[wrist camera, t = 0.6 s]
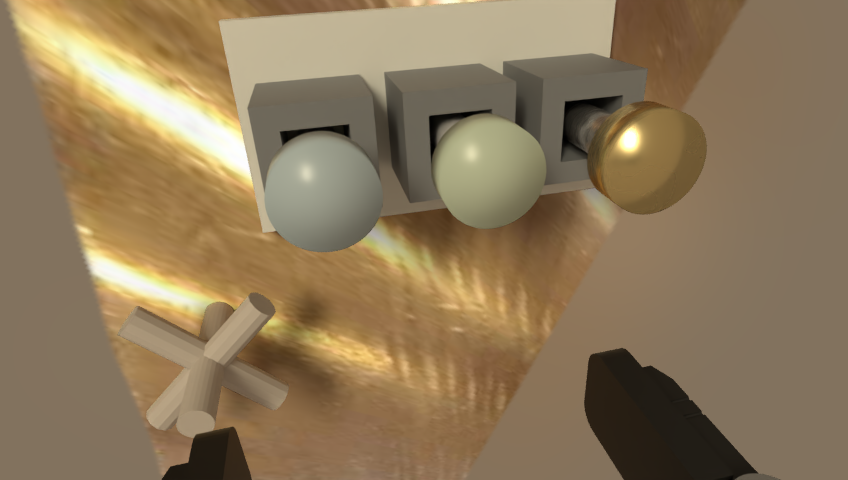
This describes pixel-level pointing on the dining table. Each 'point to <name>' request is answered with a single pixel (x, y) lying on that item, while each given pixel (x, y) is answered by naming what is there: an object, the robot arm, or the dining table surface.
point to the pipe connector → (206, 363)
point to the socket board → (424, 82)
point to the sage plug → (485, 168)
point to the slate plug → (322, 191)
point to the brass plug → (638, 152)
